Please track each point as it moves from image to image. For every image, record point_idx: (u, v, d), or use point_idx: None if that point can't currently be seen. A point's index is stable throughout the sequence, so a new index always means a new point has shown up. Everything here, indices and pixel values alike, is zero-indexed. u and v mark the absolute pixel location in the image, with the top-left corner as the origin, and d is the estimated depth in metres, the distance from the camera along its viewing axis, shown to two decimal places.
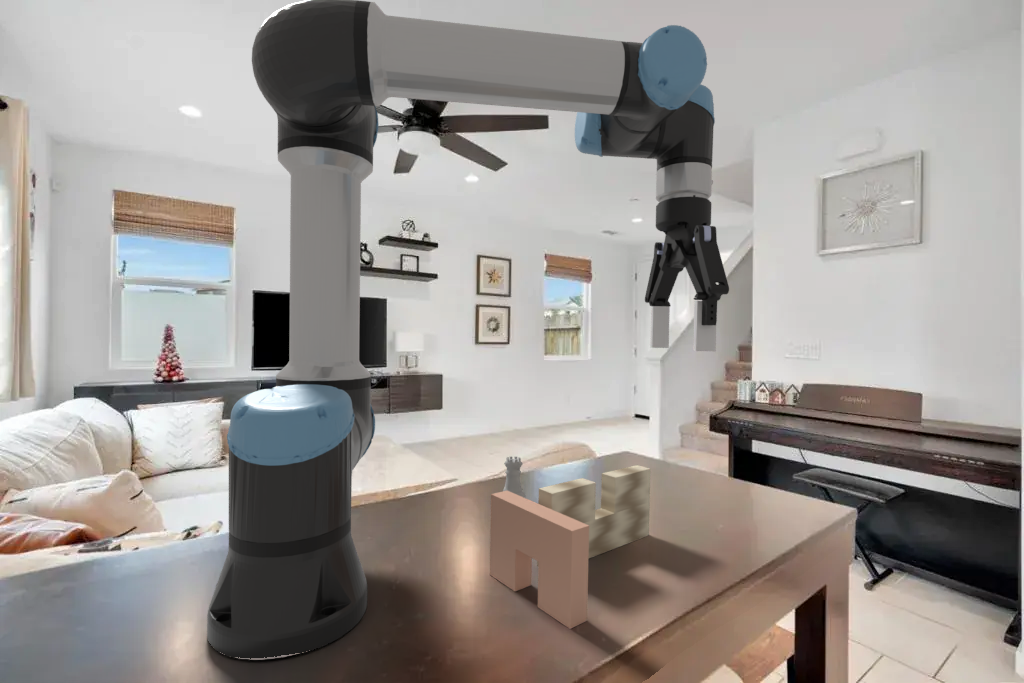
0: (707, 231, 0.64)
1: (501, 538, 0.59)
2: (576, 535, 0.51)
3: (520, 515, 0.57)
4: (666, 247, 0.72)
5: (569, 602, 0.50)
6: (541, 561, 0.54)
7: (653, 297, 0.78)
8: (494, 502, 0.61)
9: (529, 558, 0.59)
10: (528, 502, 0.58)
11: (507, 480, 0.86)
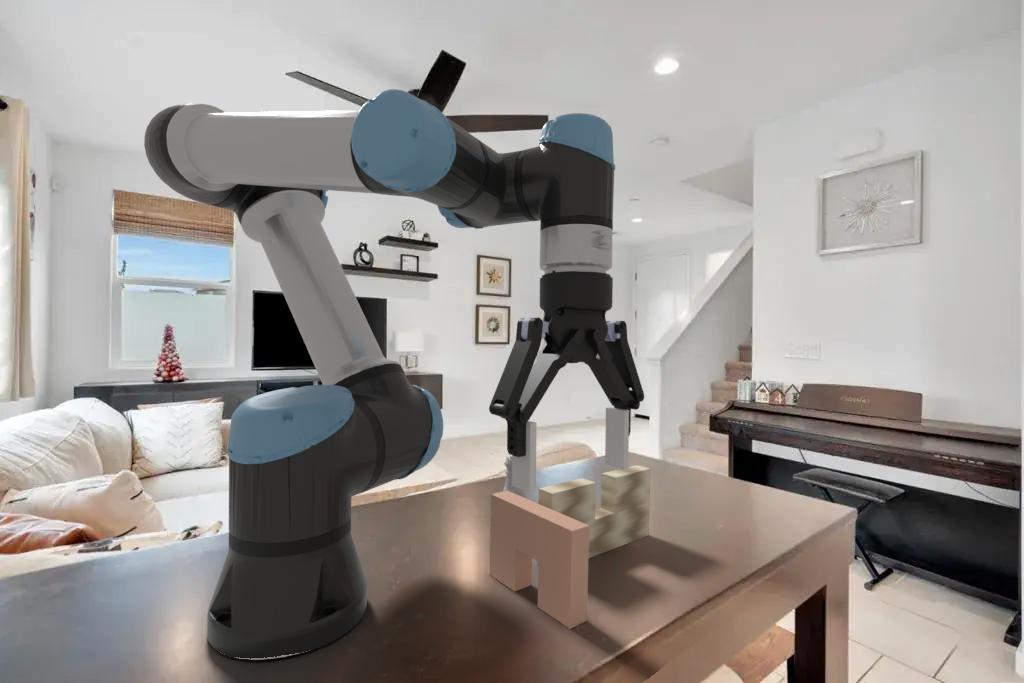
0: (524, 326, 0.47)
1: (501, 538, 0.59)
2: (576, 535, 0.51)
3: (520, 515, 0.57)
4: None
5: (569, 602, 0.50)
6: (541, 561, 0.54)
7: (608, 395, 0.57)
8: (494, 502, 0.61)
9: (529, 558, 0.59)
10: (528, 502, 0.58)
11: (507, 480, 0.86)
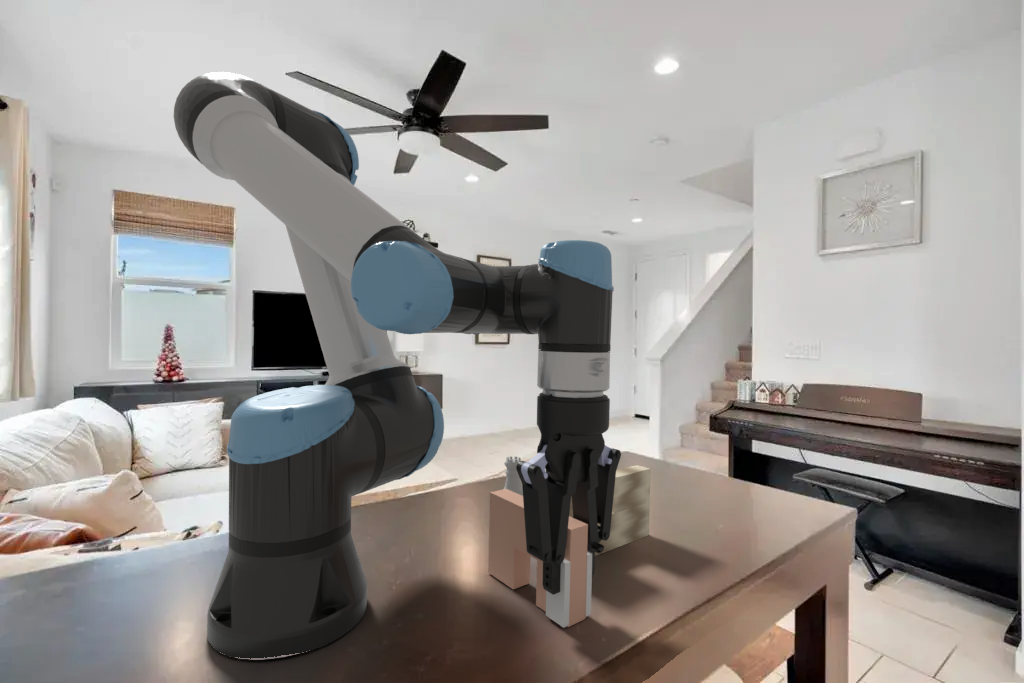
0: (525, 475, 0.48)
1: (500, 536, 0.60)
2: (575, 534, 0.51)
3: (519, 514, 0.57)
4: None
5: None
6: None
7: None
8: (493, 500, 0.61)
9: (528, 556, 0.59)
10: None
11: (507, 480, 0.86)
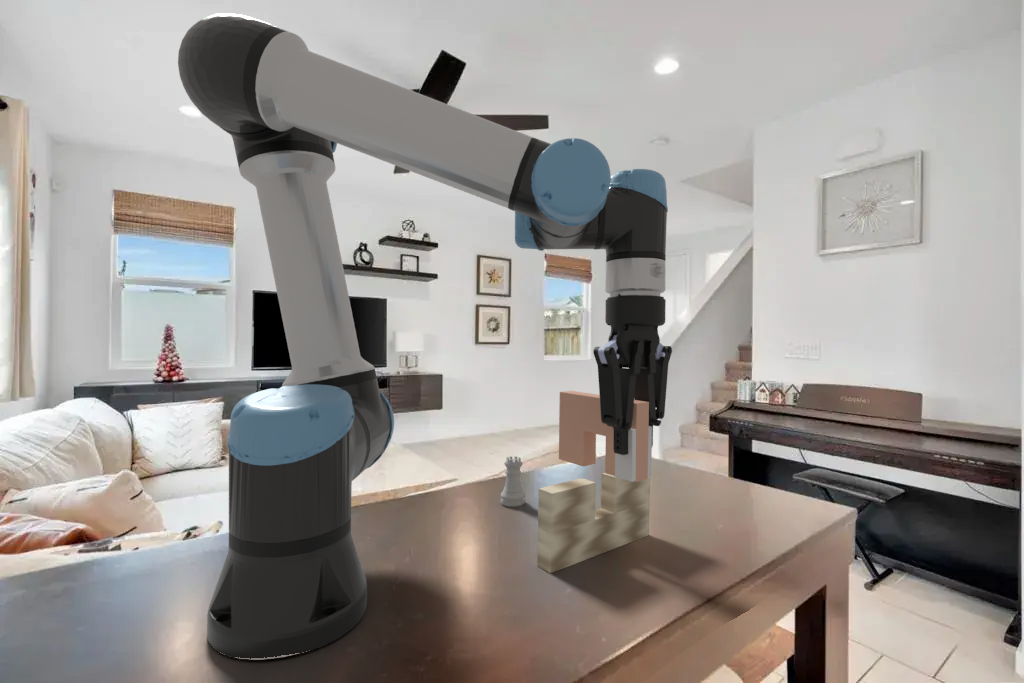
0: (601, 356, 0.60)
1: (570, 426, 0.72)
2: (640, 408, 0.63)
3: (588, 402, 0.69)
4: None
5: None
6: (608, 435, 0.66)
7: None
8: (563, 398, 0.73)
9: (594, 441, 0.71)
10: (593, 394, 0.71)
11: (507, 480, 0.86)
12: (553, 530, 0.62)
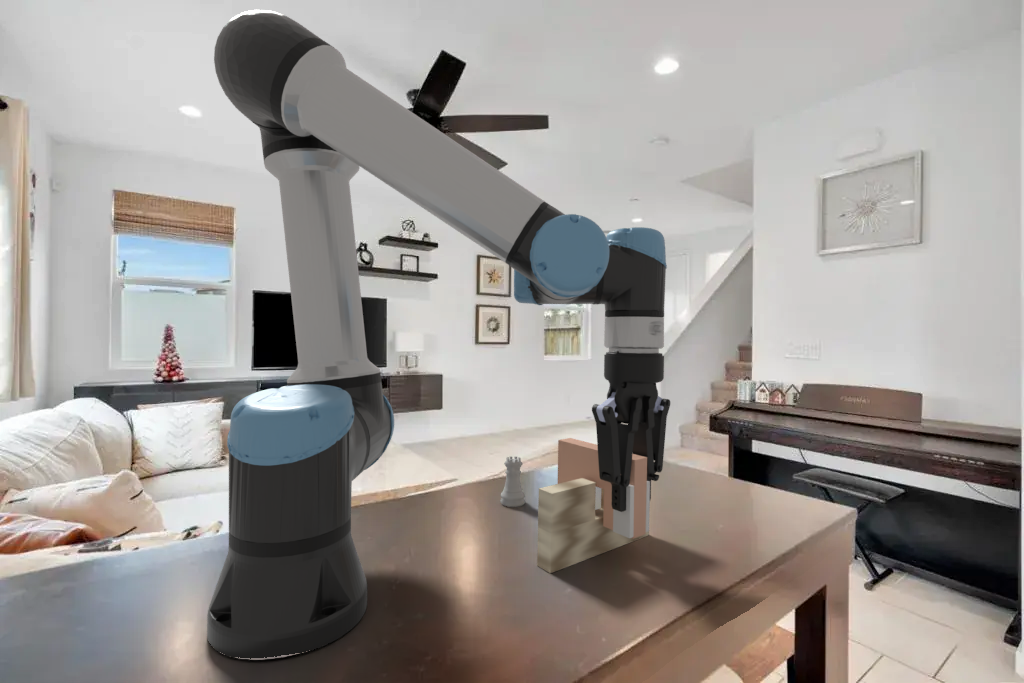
0: (599, 414, 0.60)
1: (568, 475, 0.72)
2: (638, 464, 0.63)
3: (587, 454, 0.69)
4: None
5: None
6: (606, 488, 0.66)
7: None
8: (561, 446, 0.73)
9: None
10: (592, 444, 0.71)
11: (507, 480, 0.86)
12: (553, 530, 0.62)
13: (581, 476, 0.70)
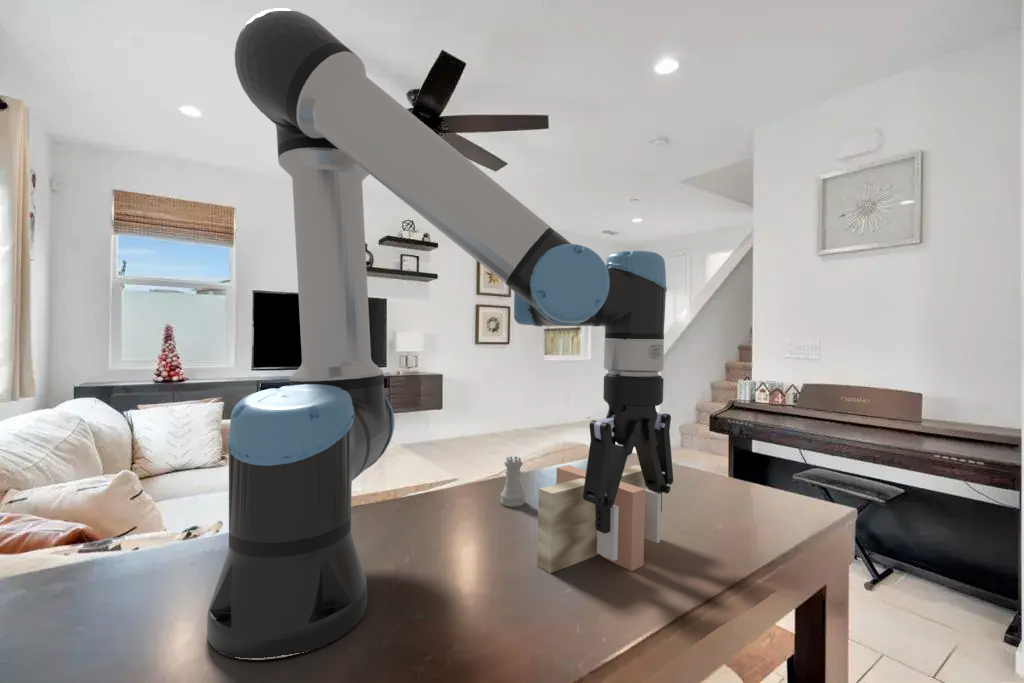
0: (596, 430, 0.60)
1: None
2: (636, 496, 0.63)
3: None
4: None
5: (630, 549, 0.63)
6: None
7: (644, 477, 0.68)
8: (560, 474, 0.73)
9: None
10: None
11: (507, 480, 0.86)
12: (553, 530, 0.62)
13: None
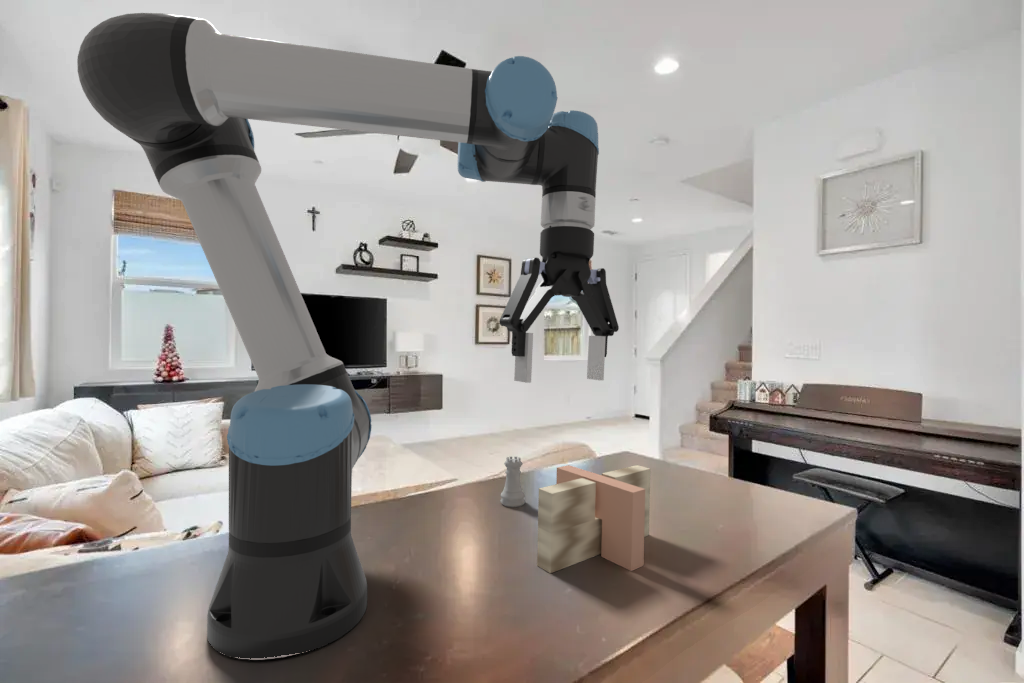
0: (527, 263, 0.66)
1: None
2: (636, 496, 0.63)
3: None
4: None
5: (630, 549, 0.63)
6: (604, 519, 0.66)
7: (591, 326, 0.75)
8: (560, 474, 0.73)
9: None
10: (590, 473, 0.71)
11: (507, 480, 0.86)
12: (553, 530, 0.62)
13: None
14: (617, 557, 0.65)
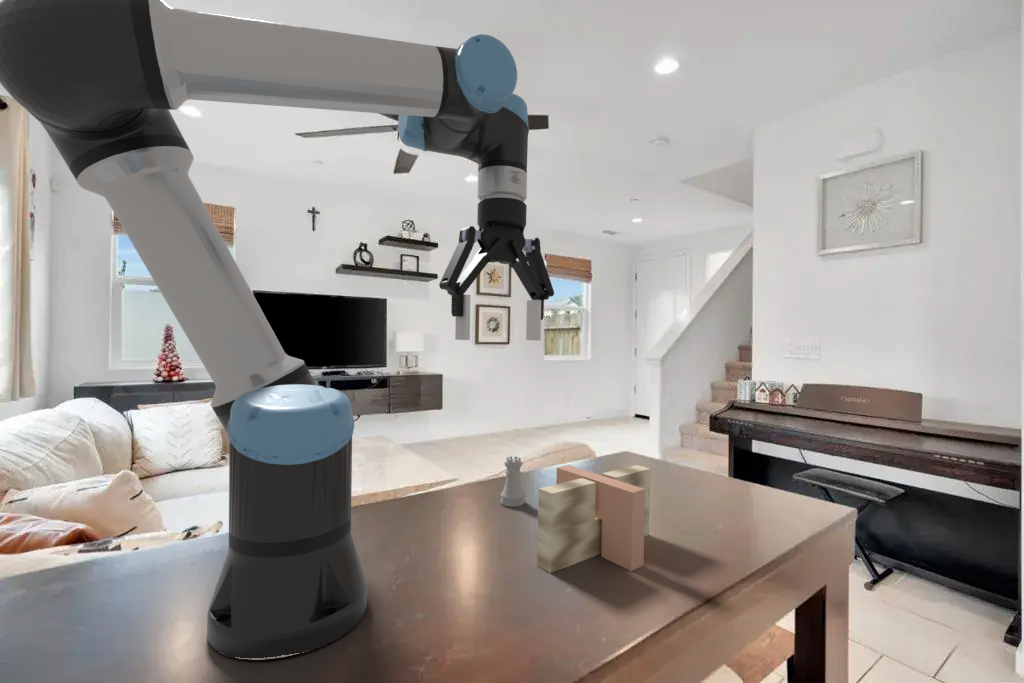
0: (463, 232, 0.72)
1: None
2: (636, 496, 0.63)
3: None
4: None
5: (630, 549, 0.63)
6: (604, 519, 0.66)
7: (528, 292, 0.81)
8: (560, 474, 0.73)
9: None
10: (590, 473, 0.71)
11: (507, 480, 0.86)
12: (553, 530, 0.62)
13: None
14: (617, 557, 0.65)
